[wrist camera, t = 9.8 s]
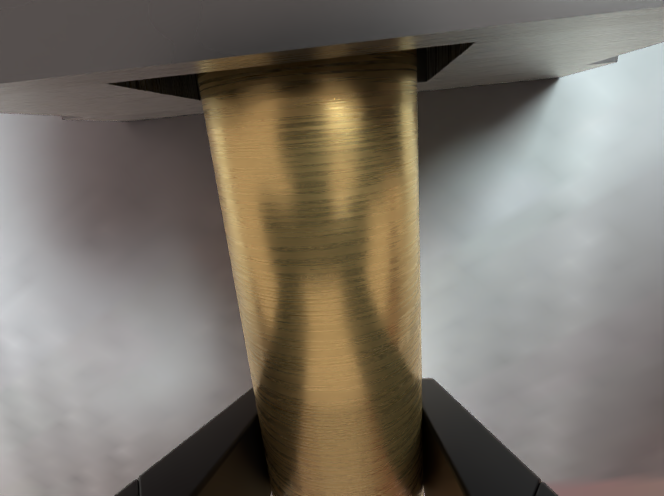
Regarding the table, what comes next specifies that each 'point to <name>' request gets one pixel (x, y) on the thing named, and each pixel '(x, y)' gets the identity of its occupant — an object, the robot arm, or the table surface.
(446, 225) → the table surface
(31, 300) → the table surface
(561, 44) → the grey slotted block
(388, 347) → the axle
